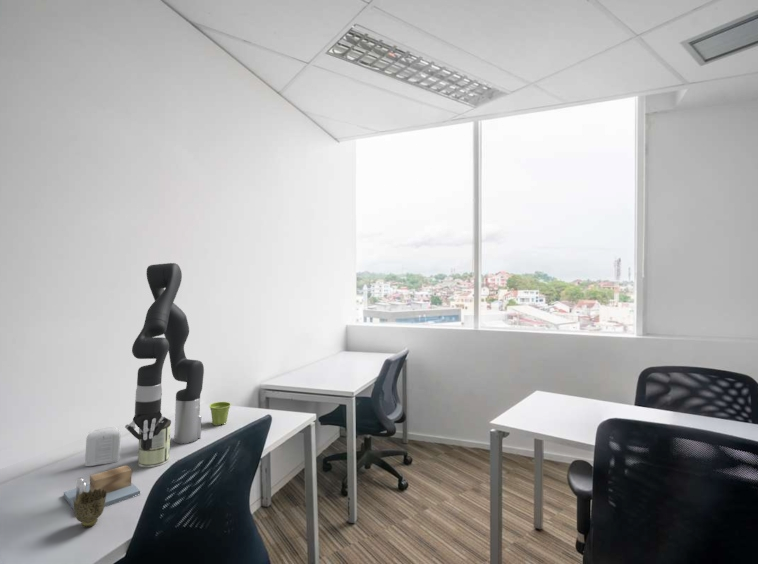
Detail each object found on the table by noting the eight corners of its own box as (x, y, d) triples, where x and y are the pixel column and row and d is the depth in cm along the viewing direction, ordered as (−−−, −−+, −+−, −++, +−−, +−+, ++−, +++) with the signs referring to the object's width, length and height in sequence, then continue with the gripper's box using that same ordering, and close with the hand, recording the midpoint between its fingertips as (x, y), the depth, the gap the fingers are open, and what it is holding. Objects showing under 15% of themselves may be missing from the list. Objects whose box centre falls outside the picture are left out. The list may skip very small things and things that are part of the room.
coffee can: (134, 460, 149) (135, 421, 149) (164, 452, 156) (166, 416, 156) (142, 470, 142) (143, 430, 141) (173, 462, 149) (175, 423, 149)
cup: (83, 516, 114) (84, 488, 114) (111, 516, 115) (112, 488, 115) (65, 533, 107) (66, 502, 107) (95, 532, 107) (96, 502, 107)
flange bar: (94, 497, 122) (94, 480, 122) (89, 491, 124) (90, 475, 124) (131, 485, 129) (131, 469, 129) (125, 480, 132) (126, 465, 132)
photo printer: (119, 457, 150) (120, 424, 150) (119, 462, 147) (121, 428, 147) (85, 463, 145) (86, 428, 145) (84, 468, 141) (86, 432, 141)
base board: (122, 477, 136) (122, 474, 136) (139, 494, 126) (140, 490, 126) (63, 495, 124) (63, 492, 124) (77, 516, 114) (78, 511, 114)
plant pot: (203, 425, 185) (204, 406, 185) (217, 418, 194) (218, 400, 194) (221, 428, 183) (222, 409, 183) (234, 421, 192) (235, 403, 192)
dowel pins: (81, 494, 123) (82, 477, 123) (86, 500, 120) (87, 482, 120) (75, 496, 122) (75, 479, 122) (79, 502, 119) (80, 484, 119)
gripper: (164, 391, 142) (162, 441, 142) (122, 398, 132) (119, 452, 132) (174, 396, 137) (171, 447, 137) (130, 404, 127) (127, 459, 127)
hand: (146, 449), depth 134 cm, fingers closed
